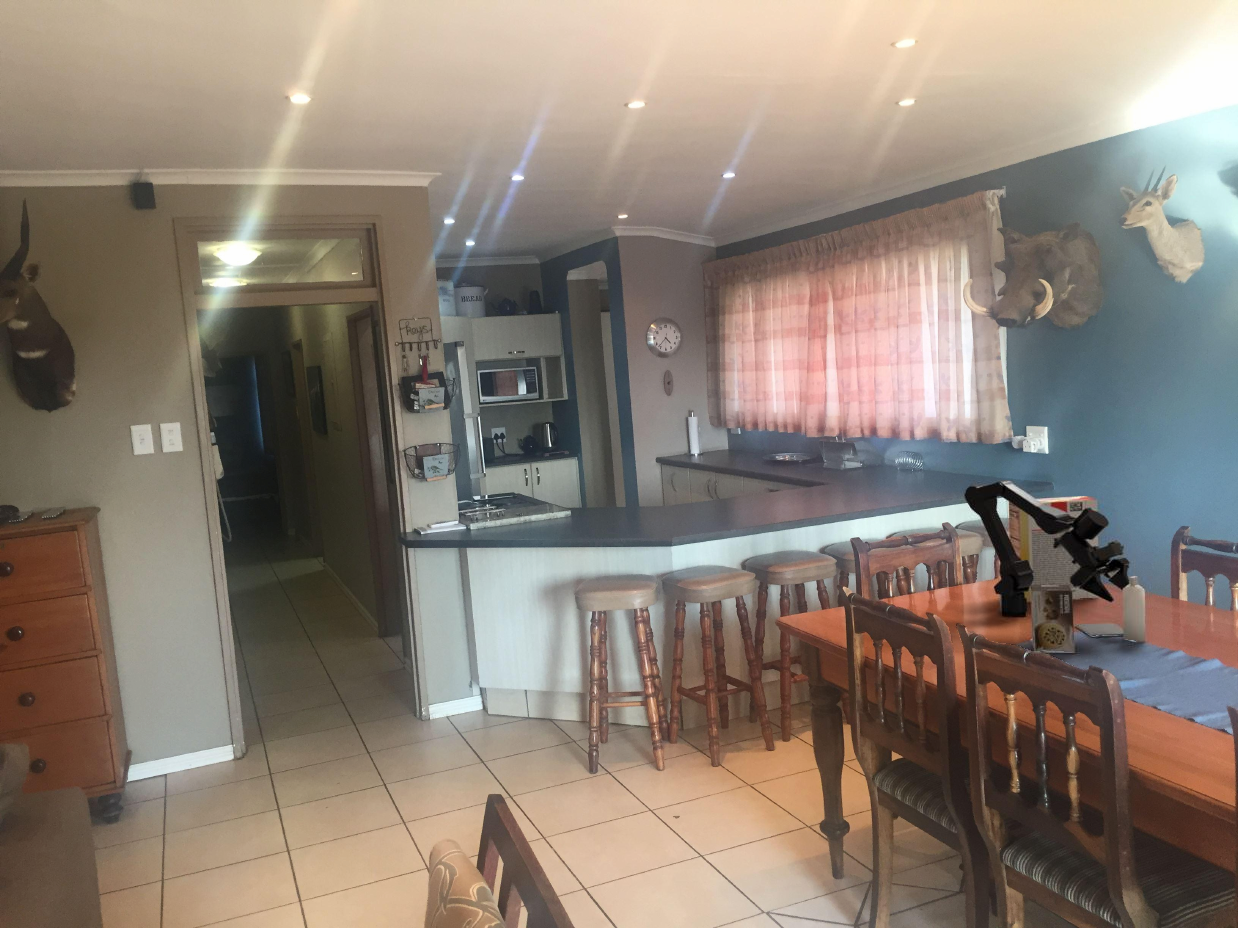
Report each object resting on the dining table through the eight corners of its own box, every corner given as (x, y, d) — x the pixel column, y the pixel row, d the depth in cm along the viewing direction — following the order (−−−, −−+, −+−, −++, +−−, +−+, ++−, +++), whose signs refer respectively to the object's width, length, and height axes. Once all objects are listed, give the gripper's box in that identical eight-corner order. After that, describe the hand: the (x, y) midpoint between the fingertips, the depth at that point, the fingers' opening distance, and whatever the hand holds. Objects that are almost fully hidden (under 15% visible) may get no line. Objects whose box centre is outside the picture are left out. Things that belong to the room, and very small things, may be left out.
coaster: (1091, 637, 233) (1091, 634, 233) (1075, 626, 243) (1075, 624, 243) (1131, 635, 232) (1131, 633, 232) (1113, 625, 242) (1113, 622, 242)
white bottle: (1119, 639, 230) (1118, 577, 228) (1130, 635, 232) (1129, 574, 231) (1138, 643, 226) (1137, 579, 224) (1149, 639, 228) (1148, 576, 227)
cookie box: (1071, 646, 226) (1069, 584, 225) (1075, 654, 220) (1073, 590, 219) (1031, 645, 229) (1029, 583, 228) (1034, 653, 223) (1032, 589, 222)
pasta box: (1086, 591, 278) (1084, 496, 276) (1099, 598, 270) (1097, 499, 268) (1011, 596, 279) (1008, 500, 277) (1021, 602, 271) (1019, 504, 269)
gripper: (1079, 536, 229) (1123, 585, 220) (1122, 526, 238) (1165, 573, 230) (1052, 563, 237) (1093, 611, 228) (1094, 552, 246) (1135, 598, 237)
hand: (1123, 598), depth 230 cm, fingers open, 9 cm apart
